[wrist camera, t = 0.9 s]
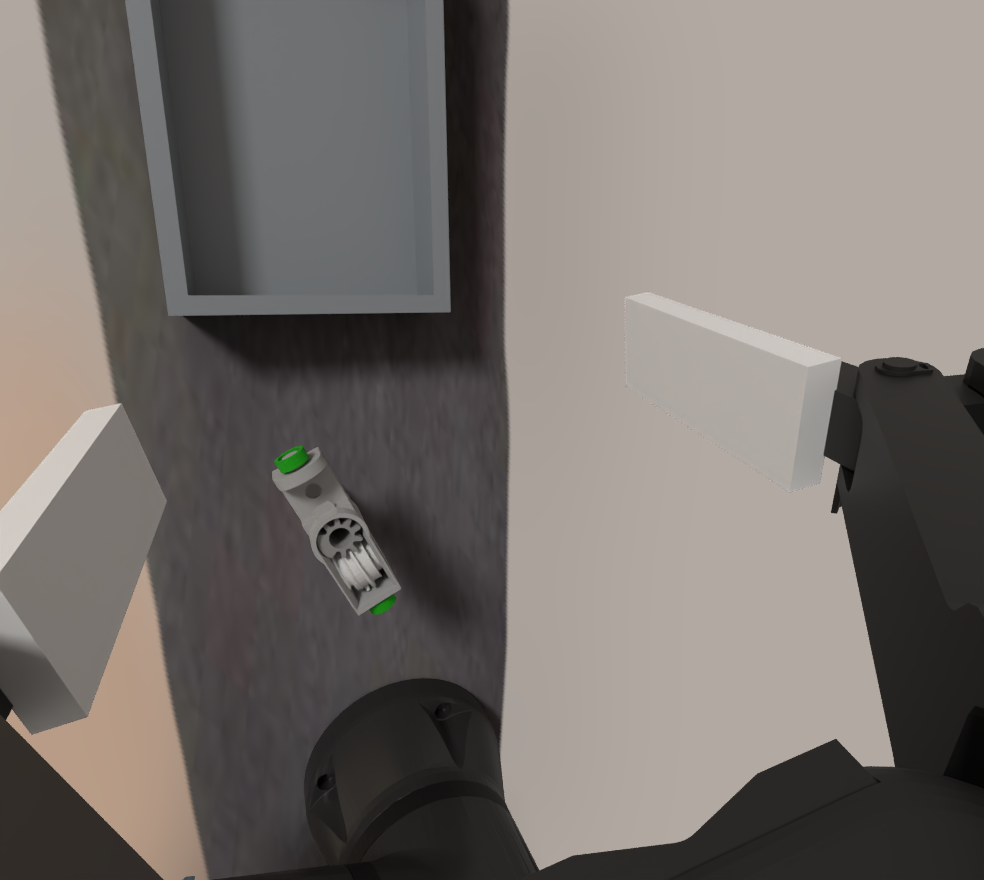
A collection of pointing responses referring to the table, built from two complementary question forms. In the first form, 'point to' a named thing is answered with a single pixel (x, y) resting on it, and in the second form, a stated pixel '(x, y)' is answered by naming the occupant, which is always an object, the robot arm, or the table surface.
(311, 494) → the mechanical component
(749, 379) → the robot arm
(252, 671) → the table surface
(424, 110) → the bin
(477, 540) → the table surface
